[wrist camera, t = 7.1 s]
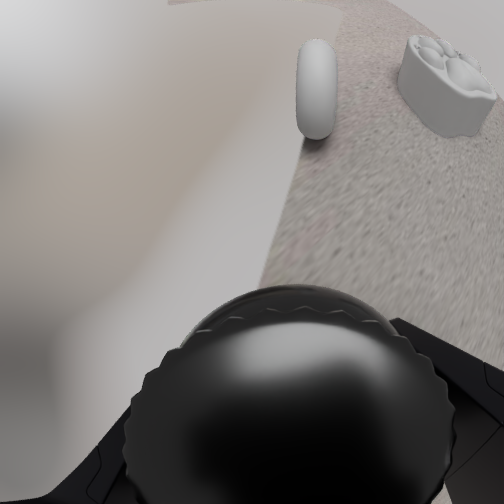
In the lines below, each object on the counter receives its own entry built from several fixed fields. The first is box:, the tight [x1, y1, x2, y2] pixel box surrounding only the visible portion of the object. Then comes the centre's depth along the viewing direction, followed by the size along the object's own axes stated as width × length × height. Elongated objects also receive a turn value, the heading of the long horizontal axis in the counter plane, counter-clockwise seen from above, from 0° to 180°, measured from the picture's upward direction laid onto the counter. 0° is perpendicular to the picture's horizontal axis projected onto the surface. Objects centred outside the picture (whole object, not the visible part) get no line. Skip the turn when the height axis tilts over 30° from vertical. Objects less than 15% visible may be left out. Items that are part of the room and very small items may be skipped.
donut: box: [296, 39, 338, 140], centre depth 22 cm, size 10×3×10 cm, turn 170°
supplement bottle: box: [121, 284, 457, 504], centre depth 8 cm, size 7×7×12 cm
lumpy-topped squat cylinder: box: [397, 35, 497, 138], centre depth 22 cm, size 10×13×9 cm
